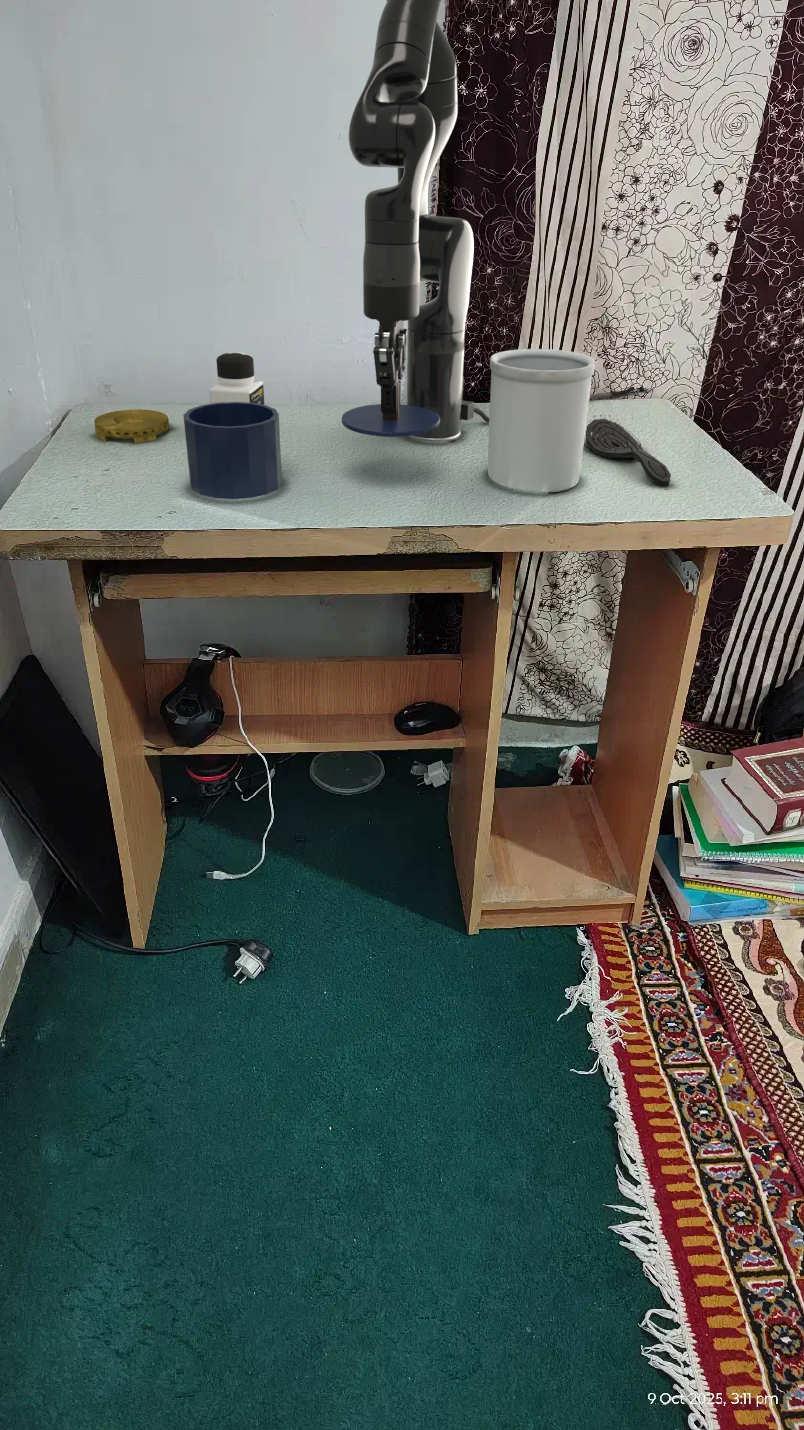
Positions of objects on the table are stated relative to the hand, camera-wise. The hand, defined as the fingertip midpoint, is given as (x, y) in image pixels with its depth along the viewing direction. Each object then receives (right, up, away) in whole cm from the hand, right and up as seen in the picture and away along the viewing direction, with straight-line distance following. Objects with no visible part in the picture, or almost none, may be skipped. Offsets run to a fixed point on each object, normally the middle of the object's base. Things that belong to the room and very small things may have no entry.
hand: (390, 409), depth 140 cm
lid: (0, -1, +1) cm, 2 cm away
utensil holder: (+21, -8, +9) cm, 24 cm away
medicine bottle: (-26, +6, +29) cm, 39 cm away
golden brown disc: (-43, +4, +25) cm, 50 cm away
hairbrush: (+38, -3, +17) cm, 42 cm away
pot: (-23, -10, +4) cm, 25 cm away
